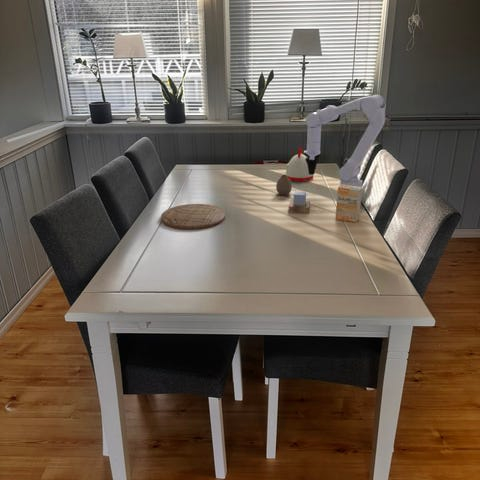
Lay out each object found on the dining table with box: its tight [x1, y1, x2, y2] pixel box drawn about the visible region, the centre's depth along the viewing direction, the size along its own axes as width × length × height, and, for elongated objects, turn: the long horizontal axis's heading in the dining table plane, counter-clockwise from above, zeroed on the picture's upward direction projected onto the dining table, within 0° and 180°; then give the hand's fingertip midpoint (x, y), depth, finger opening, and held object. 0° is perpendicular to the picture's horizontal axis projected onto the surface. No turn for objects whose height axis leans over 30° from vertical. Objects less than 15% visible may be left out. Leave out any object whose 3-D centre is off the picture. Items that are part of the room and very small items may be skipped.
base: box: [287, 199, 311, 215], centre depth 183 cm, size 8×8×3 cm
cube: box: [293, 190, 307, 206], centre depth 182 cm, size 4×4×4 cm
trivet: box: [160, 203, 226, 231], centre depth 176 cm, size 25×25×2 cm
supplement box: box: [334, 184, 363, 223], centre depth 170 cm, size 8×5×13 cm, turn 62°
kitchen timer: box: [285, 147, 314, 182], centre depth 224 cm, size 14×14×15 cm
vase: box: [275, 174, 293, 196], centre depth 201 cm, size 7×7×9 cm
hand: (312, 172), depth 199 cm, fingers open, 7 cm apart
